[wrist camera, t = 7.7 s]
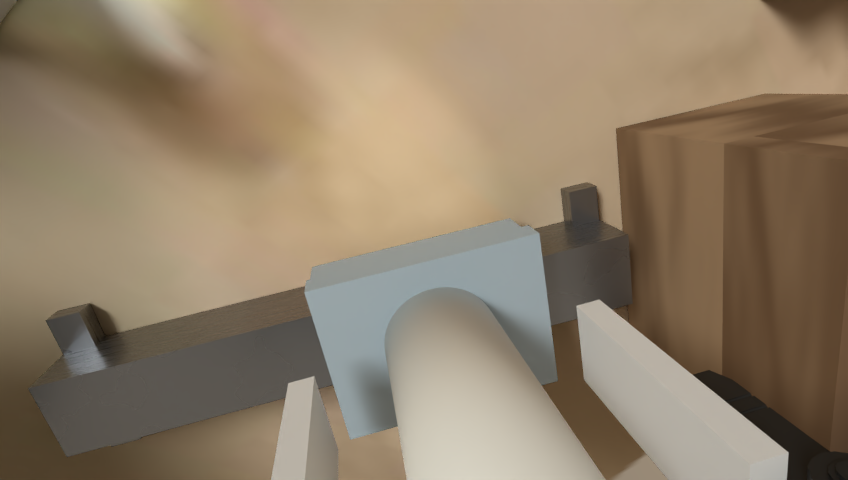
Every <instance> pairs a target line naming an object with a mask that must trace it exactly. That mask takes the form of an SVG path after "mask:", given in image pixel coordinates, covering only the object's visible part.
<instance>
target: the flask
mask: <svg viewBox="0 0 848 480" xmlns="http://www.w3.org/2000/svg"><path fill="white" fill-rule="evenodd" d="M16 1H17V0H0V23H1V21H2V20H3V19H4V17H5V16H6V15H7V13H8V12H9V11H10V9H11V8H12V7H13V5H14V4H15V3H16Z"/></svg>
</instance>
